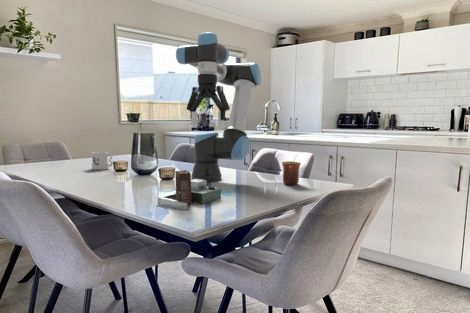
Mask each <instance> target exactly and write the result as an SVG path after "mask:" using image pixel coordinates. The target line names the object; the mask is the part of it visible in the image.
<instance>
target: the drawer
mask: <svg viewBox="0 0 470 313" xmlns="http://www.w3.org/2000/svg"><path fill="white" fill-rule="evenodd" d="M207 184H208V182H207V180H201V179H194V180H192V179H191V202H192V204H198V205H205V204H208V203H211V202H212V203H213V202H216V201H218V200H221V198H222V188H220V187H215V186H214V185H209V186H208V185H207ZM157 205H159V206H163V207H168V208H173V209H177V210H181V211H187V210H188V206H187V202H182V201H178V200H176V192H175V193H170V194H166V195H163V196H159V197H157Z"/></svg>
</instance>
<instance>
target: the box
mask: <svg viewBox="0 0 470 313" xmlns="http://www.w3.org/2000/svg"><path fill="white" fill-rule="evenodd" d="M174 173H175V174H174V175H175V177H174V178H175V193H176V200H178V201H182V202H187V207H191V206H192V204H193V203H192V202H191V180H192V179H191V174H192V172H190V171H189V170H186V169H185V170H184V169H183V170H176V171H175V172H174Z"/></svg>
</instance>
